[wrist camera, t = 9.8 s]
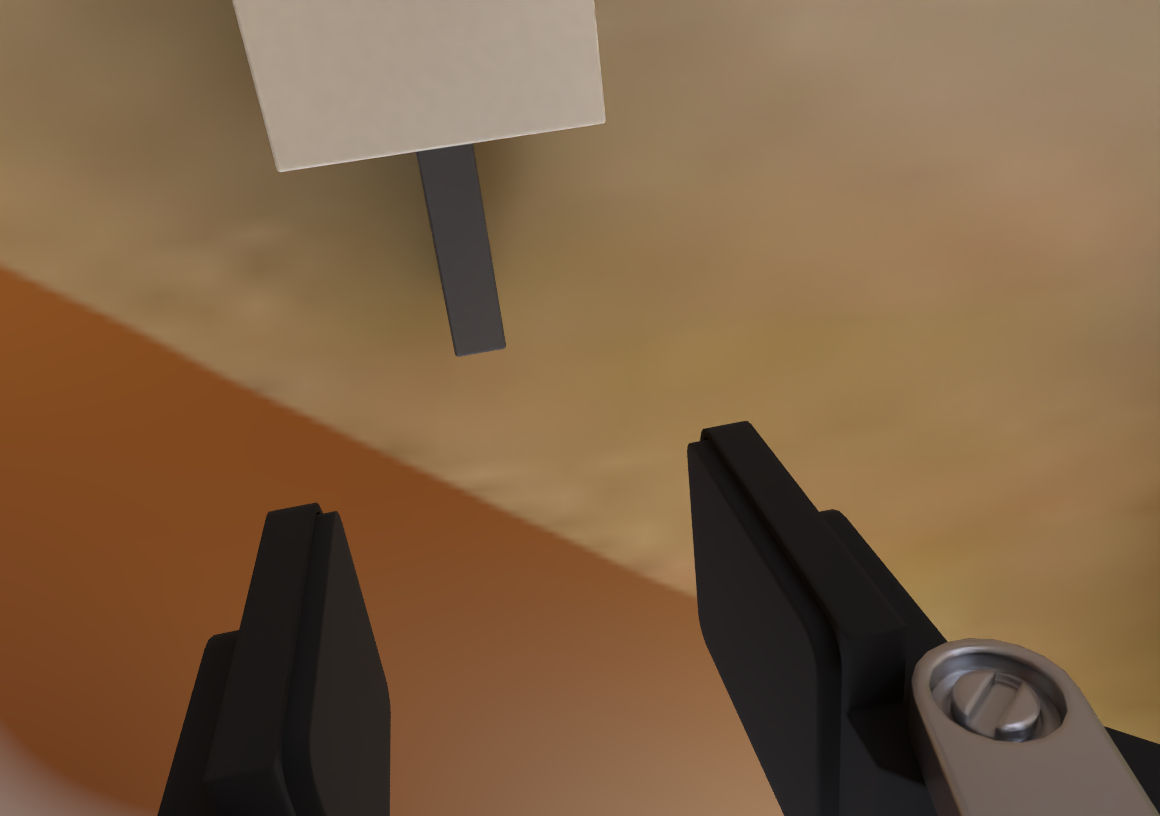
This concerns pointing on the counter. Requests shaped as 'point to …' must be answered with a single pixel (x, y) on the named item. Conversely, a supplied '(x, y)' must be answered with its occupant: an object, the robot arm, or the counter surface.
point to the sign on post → (425, 105)
